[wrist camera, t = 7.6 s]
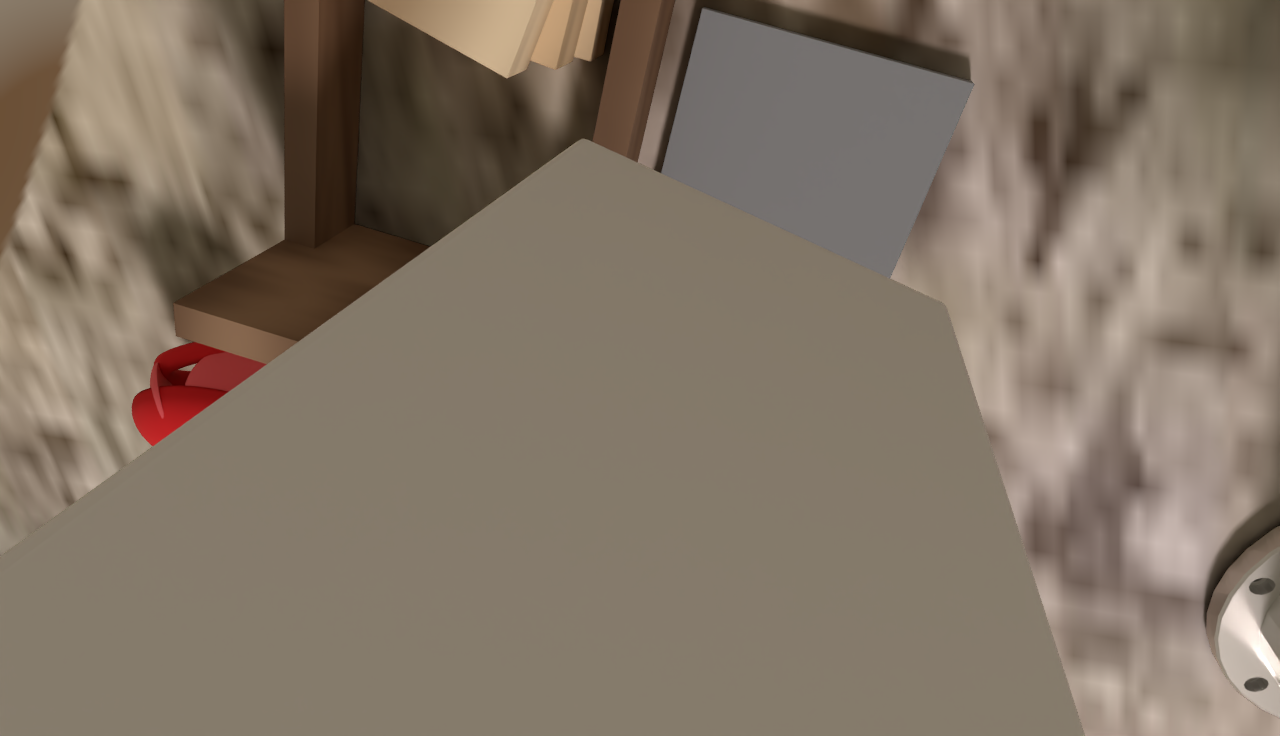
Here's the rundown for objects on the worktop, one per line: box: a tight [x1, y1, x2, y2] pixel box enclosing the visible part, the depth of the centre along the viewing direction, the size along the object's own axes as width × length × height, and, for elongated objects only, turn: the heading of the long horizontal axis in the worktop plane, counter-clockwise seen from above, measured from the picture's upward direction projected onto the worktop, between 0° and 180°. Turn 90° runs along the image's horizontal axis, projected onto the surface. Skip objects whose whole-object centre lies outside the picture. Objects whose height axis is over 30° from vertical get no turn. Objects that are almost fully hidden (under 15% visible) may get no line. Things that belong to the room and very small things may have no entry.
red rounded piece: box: [132, 342, 267, 446], centre depth 35 cm, size 8×6×6 cm
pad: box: [661, 7, 974, 278], centre depth 28 cm, size 9×9×1 cm
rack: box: [173, 0, 675, 364], centre depth 25 cm, size 12×15×9 cm
